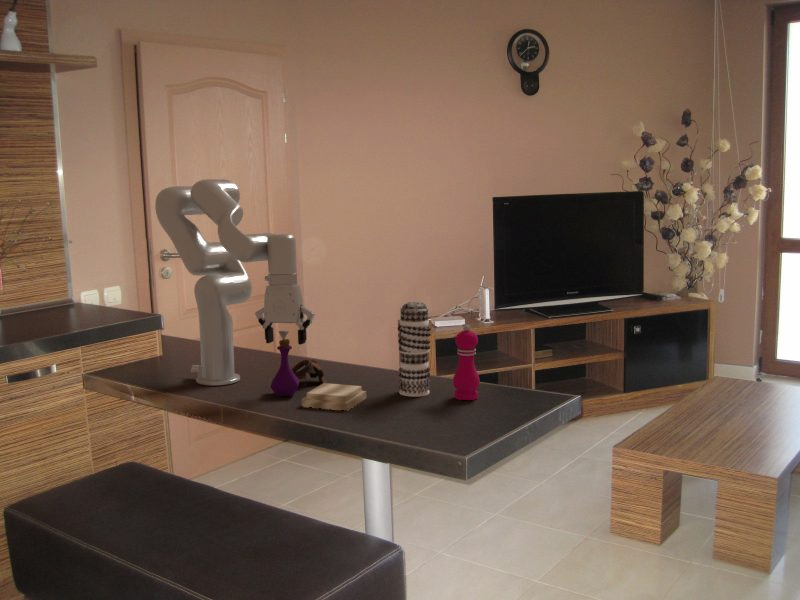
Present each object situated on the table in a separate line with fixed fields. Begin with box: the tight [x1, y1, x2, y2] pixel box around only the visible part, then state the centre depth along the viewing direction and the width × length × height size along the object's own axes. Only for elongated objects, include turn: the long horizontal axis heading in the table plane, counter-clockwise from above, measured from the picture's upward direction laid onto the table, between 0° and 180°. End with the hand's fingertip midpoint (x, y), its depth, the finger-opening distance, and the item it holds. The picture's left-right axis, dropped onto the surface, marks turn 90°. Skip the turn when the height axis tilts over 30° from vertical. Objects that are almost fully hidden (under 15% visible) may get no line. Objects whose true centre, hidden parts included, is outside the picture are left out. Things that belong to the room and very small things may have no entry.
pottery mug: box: [291, 358, 327, 385], centre depth 226 cm, size 12×10×8 cm
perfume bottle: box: [270, 330, 300, 397], centre depth 212 cm, size 8×8×18 cm
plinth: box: [301, 382, 367, 412], centre depth 205 cm, size 13×13×4 cm
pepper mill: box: [452, 324, 481, 402], centre depth 208 cm, size 7×7×20 cm
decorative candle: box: [397, 301, 432, 398], centre depth 213 cm, size 9×9×25 cm
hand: (285, 343), depth 211 cm, fingers open, 9 cm apart
